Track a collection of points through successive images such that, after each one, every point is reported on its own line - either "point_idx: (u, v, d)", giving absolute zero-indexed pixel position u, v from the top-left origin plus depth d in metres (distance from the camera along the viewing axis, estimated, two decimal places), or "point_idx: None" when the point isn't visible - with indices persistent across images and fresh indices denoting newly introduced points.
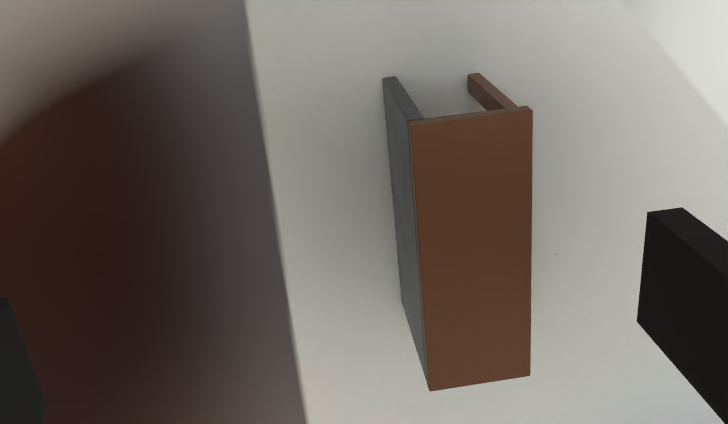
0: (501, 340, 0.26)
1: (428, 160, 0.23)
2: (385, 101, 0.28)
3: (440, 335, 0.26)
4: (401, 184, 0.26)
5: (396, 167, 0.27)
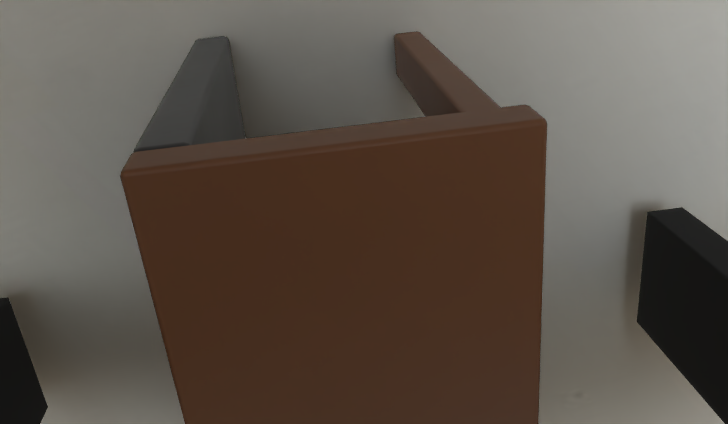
0: None
1: (200, 282, 0.07)
2: None
3: None
4: None
5: None
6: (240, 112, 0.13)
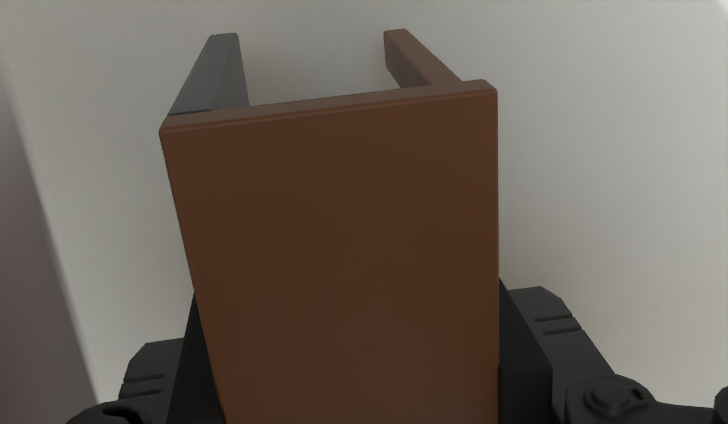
0: None
1: (220, 221, 0.08)
2: None
3: None
4: None
5: None
6: (248, 100, 0.14)
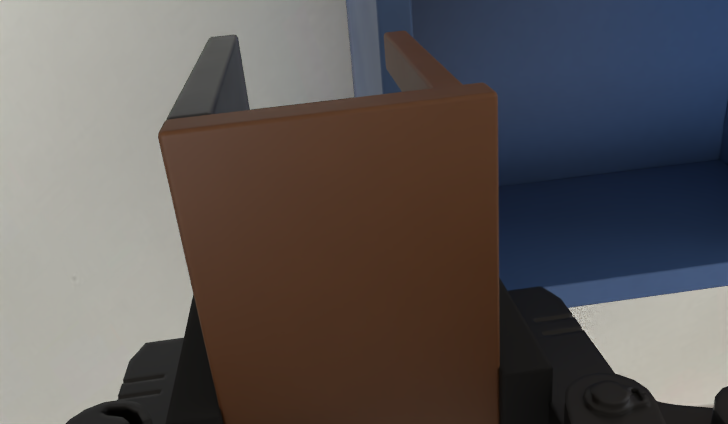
0: None
1: (220, 224, 0.08)
2: None
3: None
4: None
5: None
6: (248, 102, 0.14)
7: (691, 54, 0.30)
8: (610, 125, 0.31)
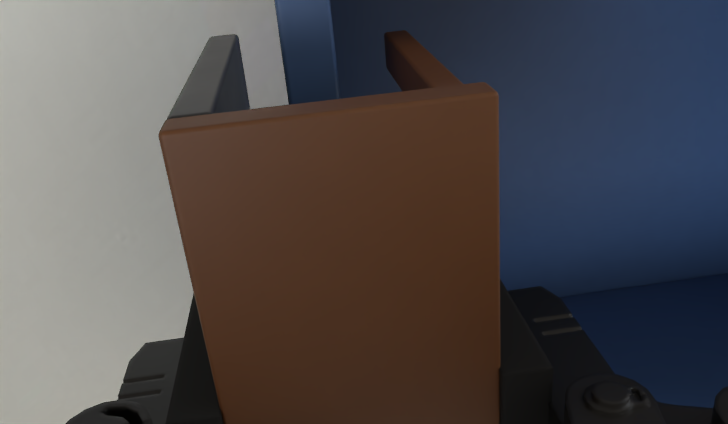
0: None
1: (220, 224, 0.08)
2: None
3: None
4: None
5: None
6: (248, 101, 0.14)
7: (716, 153, 0.25)
8: (618, 236, 0.26)
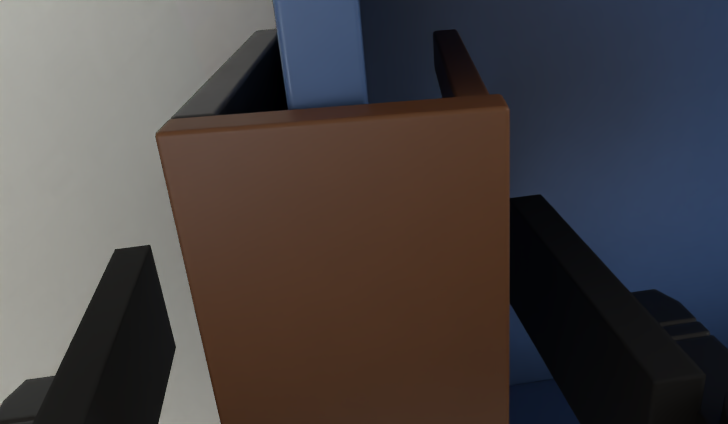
0: None
1: (216, 228, 0.08)
2: None
3: None
4: None
5: None
6: None
7: None
8: (689, 299, 0.21)
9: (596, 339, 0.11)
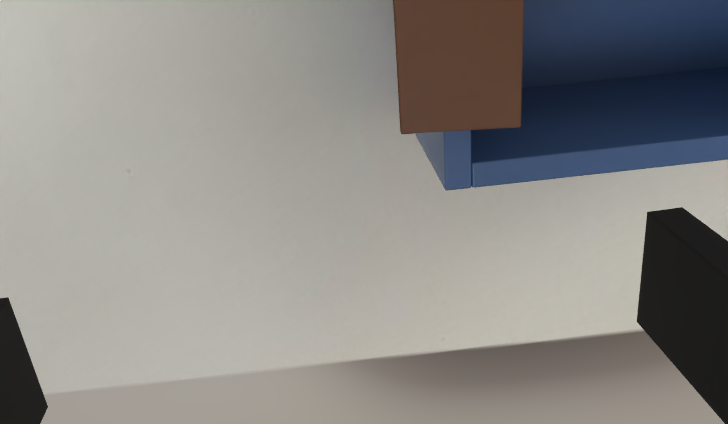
0: (486, 73, 0.22)
1: None
2: None
3: (413, 57, 0.22)
4: None
5: None
6: None
7: None
8: (642, 28, 0.32)
9: None
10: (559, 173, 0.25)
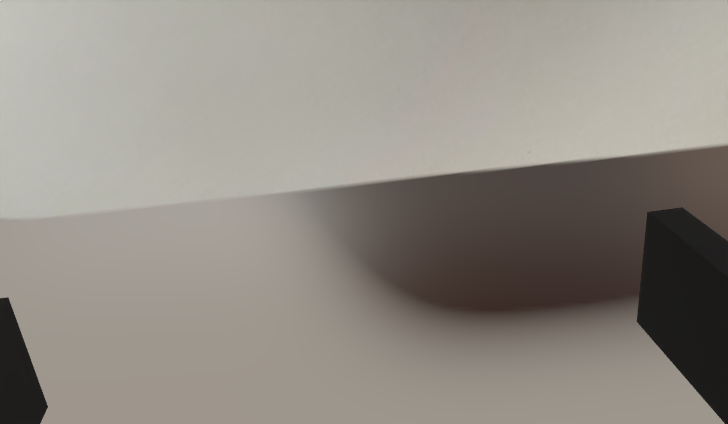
0: None
1: None
2: None
3: None
4: None
5: None
6: None
7: None
8: None
9: None
10: None
